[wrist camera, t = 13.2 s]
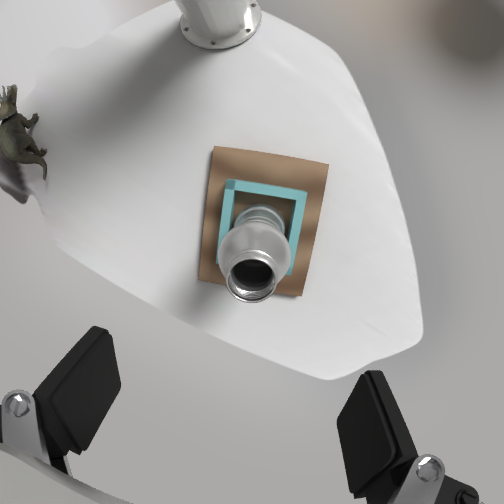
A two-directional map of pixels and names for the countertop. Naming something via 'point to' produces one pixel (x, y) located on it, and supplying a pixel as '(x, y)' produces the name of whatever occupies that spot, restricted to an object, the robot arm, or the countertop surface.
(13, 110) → the dinosaur figurine
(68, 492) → the robot arm
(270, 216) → the silver aluminum bottle
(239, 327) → the countertop surface
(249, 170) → the walnut jig board
